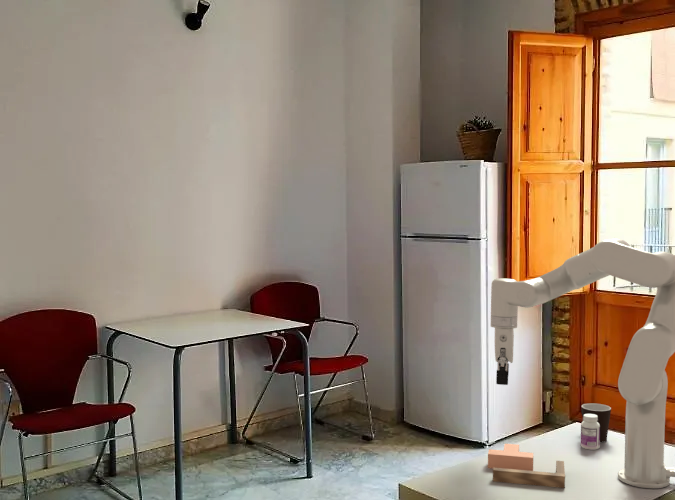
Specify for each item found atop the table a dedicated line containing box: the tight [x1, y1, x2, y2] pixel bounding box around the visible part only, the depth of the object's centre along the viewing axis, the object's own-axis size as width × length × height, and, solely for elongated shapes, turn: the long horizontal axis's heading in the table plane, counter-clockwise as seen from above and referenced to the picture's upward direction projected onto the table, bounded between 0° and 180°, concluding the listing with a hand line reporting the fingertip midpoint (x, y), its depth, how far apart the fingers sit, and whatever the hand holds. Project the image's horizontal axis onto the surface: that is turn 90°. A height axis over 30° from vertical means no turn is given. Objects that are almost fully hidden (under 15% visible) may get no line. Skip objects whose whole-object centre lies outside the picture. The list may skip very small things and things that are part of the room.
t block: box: [487, 443, 534, 471], centre depth 213 cm, size 12×10×4 cm
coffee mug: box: [580, 403, 612, 443], centre depth 237 cm, size 12×9×10 cm
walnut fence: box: [492, 460, 566, 489], centre depth 203 cm, size 18×12×3 cm, turn 75°
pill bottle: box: [580, 414, 601, 451], centre depth 228 cm, size 5×5×10 cm
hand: (502, 380), depth 222 cm, fingers open, 9 cm apart
